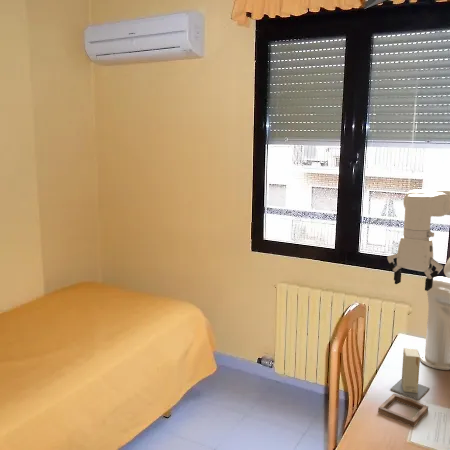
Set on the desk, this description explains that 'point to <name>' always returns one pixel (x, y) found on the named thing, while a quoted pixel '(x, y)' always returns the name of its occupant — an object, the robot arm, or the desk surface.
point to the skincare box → (410, 370)
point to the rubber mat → (417, 396)
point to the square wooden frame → (399, 417)
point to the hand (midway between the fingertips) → (412, 286)
